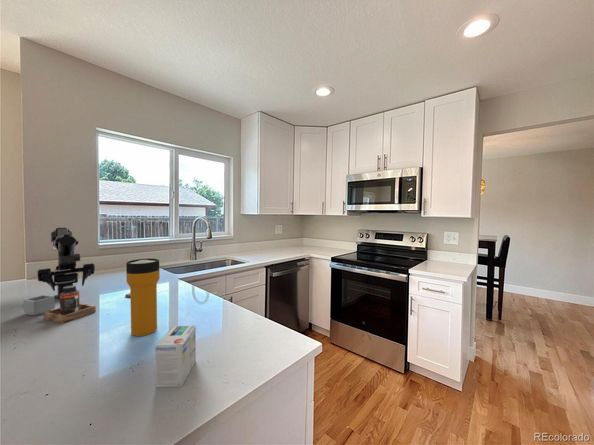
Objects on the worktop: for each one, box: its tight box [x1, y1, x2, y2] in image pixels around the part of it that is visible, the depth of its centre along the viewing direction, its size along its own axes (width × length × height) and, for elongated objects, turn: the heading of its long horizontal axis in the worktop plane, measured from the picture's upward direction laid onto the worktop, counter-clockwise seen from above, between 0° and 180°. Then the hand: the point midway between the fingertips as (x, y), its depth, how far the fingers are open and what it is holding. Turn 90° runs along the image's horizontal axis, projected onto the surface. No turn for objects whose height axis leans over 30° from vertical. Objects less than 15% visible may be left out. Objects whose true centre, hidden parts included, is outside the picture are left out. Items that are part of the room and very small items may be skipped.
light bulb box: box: [154, 325, 197, 388], centre depth 66 cm, size 11×7×11 cm, turn 5°
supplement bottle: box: [59, 284, 81, 315], centre depth 102 cm, size 6×6×11 cm
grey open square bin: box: [23, 294, 56, 316], centre depth 105 cm, size 7×7×6 cm
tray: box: [43, 302, 96, 324], centre depth 102 cm, size 12×12×2 cm
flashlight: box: [125, 258, 160, 337], centre depth 89 cm, size 10×26×10 cm
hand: (68, 287), depth 108 cm, fingers open, 9 cm apart
